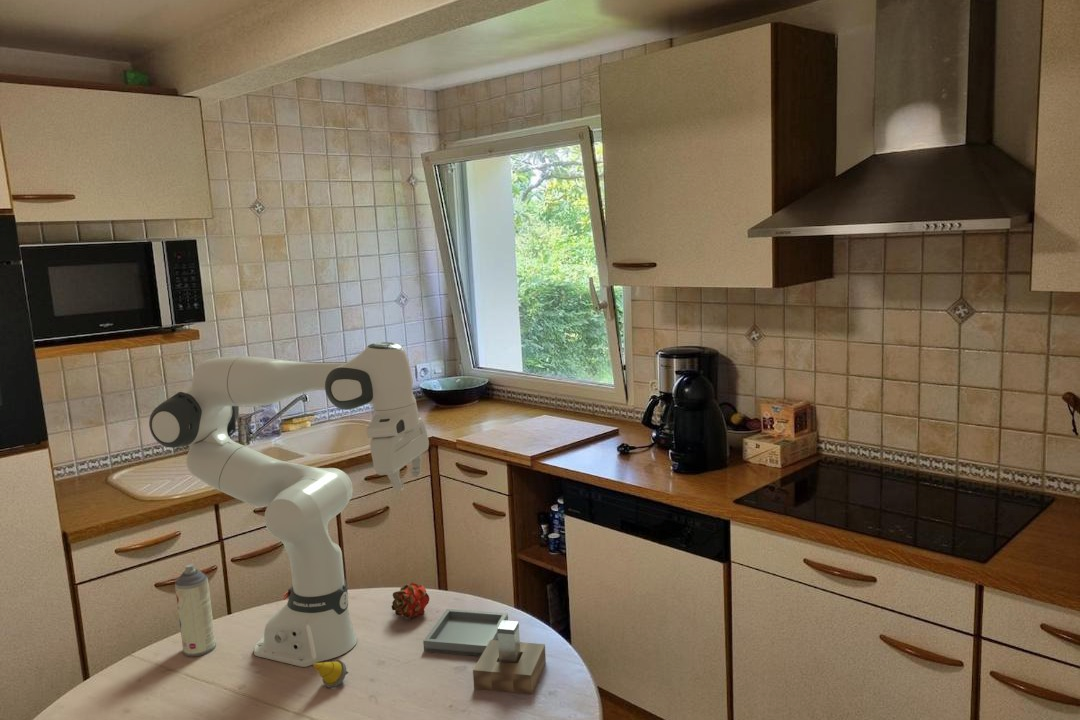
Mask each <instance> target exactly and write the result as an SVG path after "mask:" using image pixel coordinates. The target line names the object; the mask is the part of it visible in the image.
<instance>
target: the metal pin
mask: <svg viewBox="0 0 1080 720" xmlns="http://www.w3.org/2000/svg"><path fill="white" fill-rule="evenodd" d="M519 623H520V622H519V621H517V620H515V621H513V620H508V621H504V620H502V622H501V623H500V625H499V627H498V629H497V630H498V647H499V662H505V663H517V664H518V662H519V660H520V658H521V657H520V642H521V641H520V640H521V639H520V624H519Z"/></svg>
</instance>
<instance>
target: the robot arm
mask: <svg viewBox="0 0 1080 720" xmlns="http://www.w3.org/2000/svg"><path fill="white" fill-rule="evenodd" d="M413 381H414V380H413V375H412V369H411V365H410V362H409V358H408V355H407V353H406V349H404V348H403V346H402V345H400V344H398V343H395V342H385V341H383V342H374V343H369V344H368V345H367V346H366V347H365V349H364V350H363V351H361V353H359V354H357V356H355V357H353V358H352V359H350V360H348V361H339V362H338V361H335V362H334V361H331V362H330V361H327V362H326V361H324V362H323V361H322V362H320V361H318V362H317V361H316V362H313V361H311V362H308V361H307V362H306V361H297V360H296V361H295V360H287V359H277V358H270V357H269V358H268V357H261V356H249V355H248V356H247V355H233V356H231V355H230V356H221V357H214V358H210V359H206V360H203V361H202V362H200V363H199V364H198V365H197V366H196V367H195V369H194V371H193V374H192V385H191V388H190V389H189V390H188V391H186V392H183V391H178V392H177V393H175V394H174V395H172V396H171V397H169V398H167V399H165V400H164V401H163V402H161V403H160V404H158V406H156V407H155V409H153V410H152V412H151V413H150V415H149V421H148V424H149V425H148V426H149V430H150V433H151V435H152V437H153V439H154V440H155V441H156V442H157V443H159V444H160V445H161V446H163V447H165V448H166V447H167V448H176V449H177V448H183V447H187V446H188V449H189V450H188V452H187V455H186V460H185V463H186V467H187V470H188V471H189V472H190V474H192V476H195V477H196V478H197V479H199V480H200V481H202V482H203V483H205V484H206V485H208V486H210V487H211V488H213V489H215V490H217V491H219V492H221V493H224V494H225V495H228V496H230V497H232V498H234V499H236V500H239V501H240V502H241V501H242V502H244V503H246V504H248V505H250V506H254V507H255V506H256V507H266V508H265V512H264V523H265V526H266V529H267V531H268V532H269V534H270V535H271V537H272V536H273V538H274V539H276V540H278V541H281V542H282V544H283V545H284V548H285V550H286V552H287V555H288V559H289V565H290V571H291V572H290V573H291V580H292V585H291V587H289V588H288V589H287V591H286V592H285V593H284V594H283V595H282V597H283V599H282V600H283V601H285V600H286V599H287V598H288V600H287V602H286V603H285V604H284V605H283V606H281V608H280V609H278V610H277V611H276V612H274V614H273V615H272V616H271V617H270V618H269V619H268V621H267V622H266V624H265V627H264V632H263V636H262V637H261V638H260V639H259V640H258V641H257V642H256V643H255V646H254V648H253V655H254V656H256V657H259V658H263V659H268V660H271V661H272V660H273V661H276V662H280V663H285V664H288V665H289V664H290V665H293V666H297V667H302V668H306V667H310V666H313V664H314V663H321V662H324V661H329V660H332V659H334V658H338V657H340V656H342V655H344V654H346V653H348V652H349V651H350V650H352V649H353V648H354V647H355V645H356V644H357V642H358V637H357V634H356V631H355V630H354V626H353V624H352V620H351V616H350V613H349V612H350V611H349V593H348V584H347V581H346V579H345V573H344V562H343V552H342V550H341V549H342V548H341V547H340V545H338V544H337V543H335V542H334V541H333V540H332V539H331V536H330V534H329V528H328V527H329V526H328V525H329V522H330V520H331V521H332V519H333V518H335V517H336V516H338V515H339V514H340V513H341V512H342V511H343V510H344V509H346V507H347V505H348V503H349V502H350V501H351V499H352V496H353V493H354V492H353V491H354V487H353V483H352V481H351V478H350V476H349V475H348V474H347V473H346V472H345V471H343V470H341V469H339V468H335V467H327V468H326V467H315V466H311V465H310V466H309V465H306V464H305V465H304V464H301V463H300V464H299V463H293V462H290V461H289V462H288V461H284V460H281V459H278V458H274V457H271V456H269V455H267V454H264V453H262V452H259V451H257V450H255V449H253V448H251V447H248V446H246V445H243V444H241V443H238V442H237V441H234V440H233V439H231V438H230V437H231V436H232V435H233V434H234V433H235V432H236V429H237V425H236V423H237V421H238V418H239V412H240V409H239V407H242V408H243V407H244V408H251V407H252V408H254V407H263V406H268V405H273V404H275V403H278V402H281V401H284V400H286V399H288V398H291V397H294V396H298V395H300V394H303V393H308V392H313V391H324V392H325V394H326V396H327V399H328V400H329V401H330V403H331V404H332V405H333V406H334V407H336V408H338V409H339V410H344V411H345V410H346V411H348V410H350V411H351V410H355V409H358V408H361V407H363V406H365V405H371V406H372V408H373V413H374V415H373V416H372V419H371V421H370V423H369V425H367V427H366V429H365V433H366V437H367V438H368V439H371V440H370V442H369V443H370V445H369V447H370V454H371V459H372V463H373V468H374V470H375V472H376V474H377V475H378V476H387V477H388V479H389V481H390V482H391V484H392V489H393V491H394V492H400V491H402V490H403V489H404V488H405V486H404V485H405V484H404V480H402V479H401V477H400V473H401V472H400V471H401V469H402V468H403V467H405V466H406V465H408V464H409V463H410V462H411V469H410V472H411V476H412V477H413V478H417V477H420V476H421V475H422V474H423V472H422V463H423V455H422V454H423V453H425V452H426V451H427V450H429V447H430V443H429V442H430V441H429V436H428V432H427V428H426V424H425V421H424V419H422V418H421V416H420V414H419V410H418V405H417V400H416V397H415V395H414V392H413Z"/></svg>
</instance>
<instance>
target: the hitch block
mask: <svg viewBox="0 0 1080 720" xmlns="http://www.w3.org/2000/svg"><path fill="white" fill-rule="evenodd" d="M520 657H521V658H520V660H519V662H518V664H517V663H505V662H499V647H498V640H490V642H489V643H488V645H487V647H486V648H485V650H484V652H483V654H482V655H481V656H479V659H478V661H477V662H476V664H475V666H474V667H473V669H472V676H473V677H472V679H473V689H476V690H477V689H478V690H487V691H497V692H507V693H517V694H528V695H533V693H534V690H535V688H536V686H537V684H538V681H539V679H540V677H541V674H542V671H543V670H544V667H545V664H546V663H547V661H546V660H547V659H546V644H545V643H536V642H535V643H534V642H532V643H531V642H522V641H520Z"/></svg>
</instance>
